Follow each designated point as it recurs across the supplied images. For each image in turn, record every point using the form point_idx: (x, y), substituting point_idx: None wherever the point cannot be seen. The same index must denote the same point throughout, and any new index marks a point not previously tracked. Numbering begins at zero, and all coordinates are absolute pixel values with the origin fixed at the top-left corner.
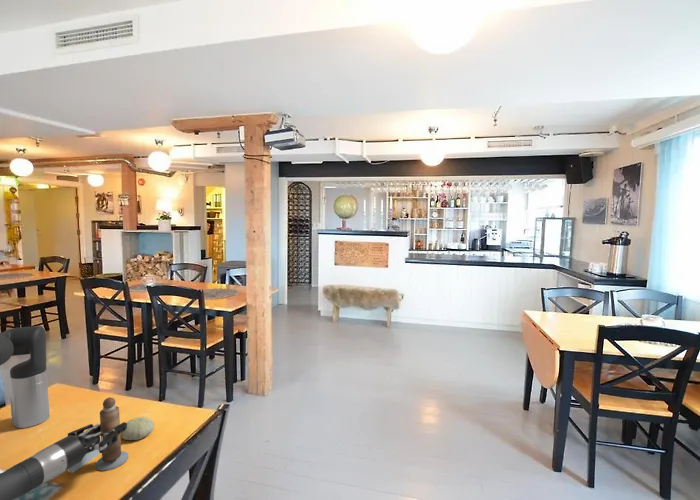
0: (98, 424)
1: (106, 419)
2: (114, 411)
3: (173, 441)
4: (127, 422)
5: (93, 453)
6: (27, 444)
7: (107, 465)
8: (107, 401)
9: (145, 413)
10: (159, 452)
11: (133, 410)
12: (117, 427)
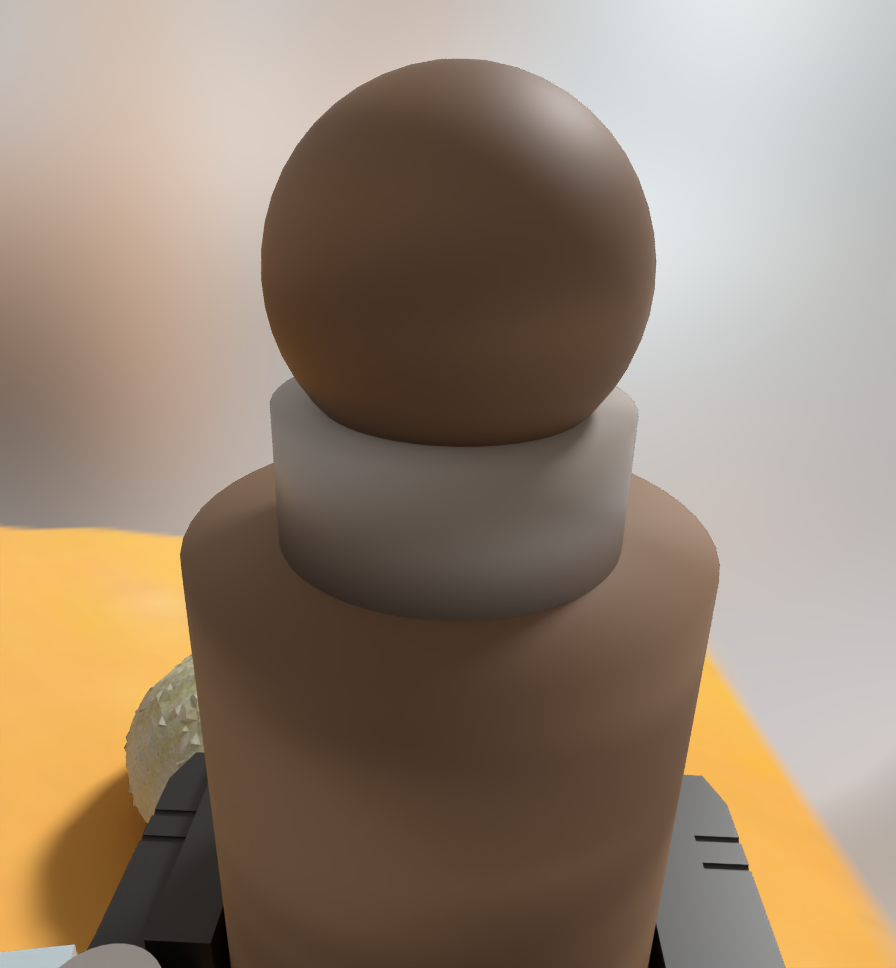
0: (114, 955)
1: (605, 819)
2: (661, 529)
3: (744, 782)
4: (175, 703)
5: None
6: None
7: None
8: (564, 133)
9: (145, 599)
10: (822, 948)
11: (7, 594)
12: (708, 902)
